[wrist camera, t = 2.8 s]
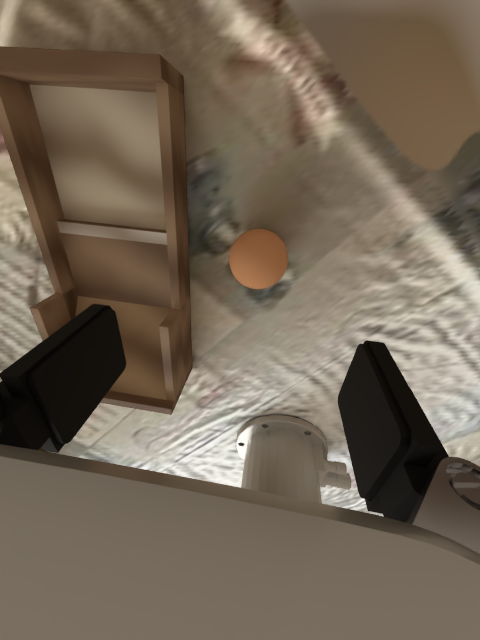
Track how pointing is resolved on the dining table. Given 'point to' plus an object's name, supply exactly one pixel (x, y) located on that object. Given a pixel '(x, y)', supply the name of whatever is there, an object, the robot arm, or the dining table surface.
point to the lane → (107, 202)
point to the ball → (258, 258)
